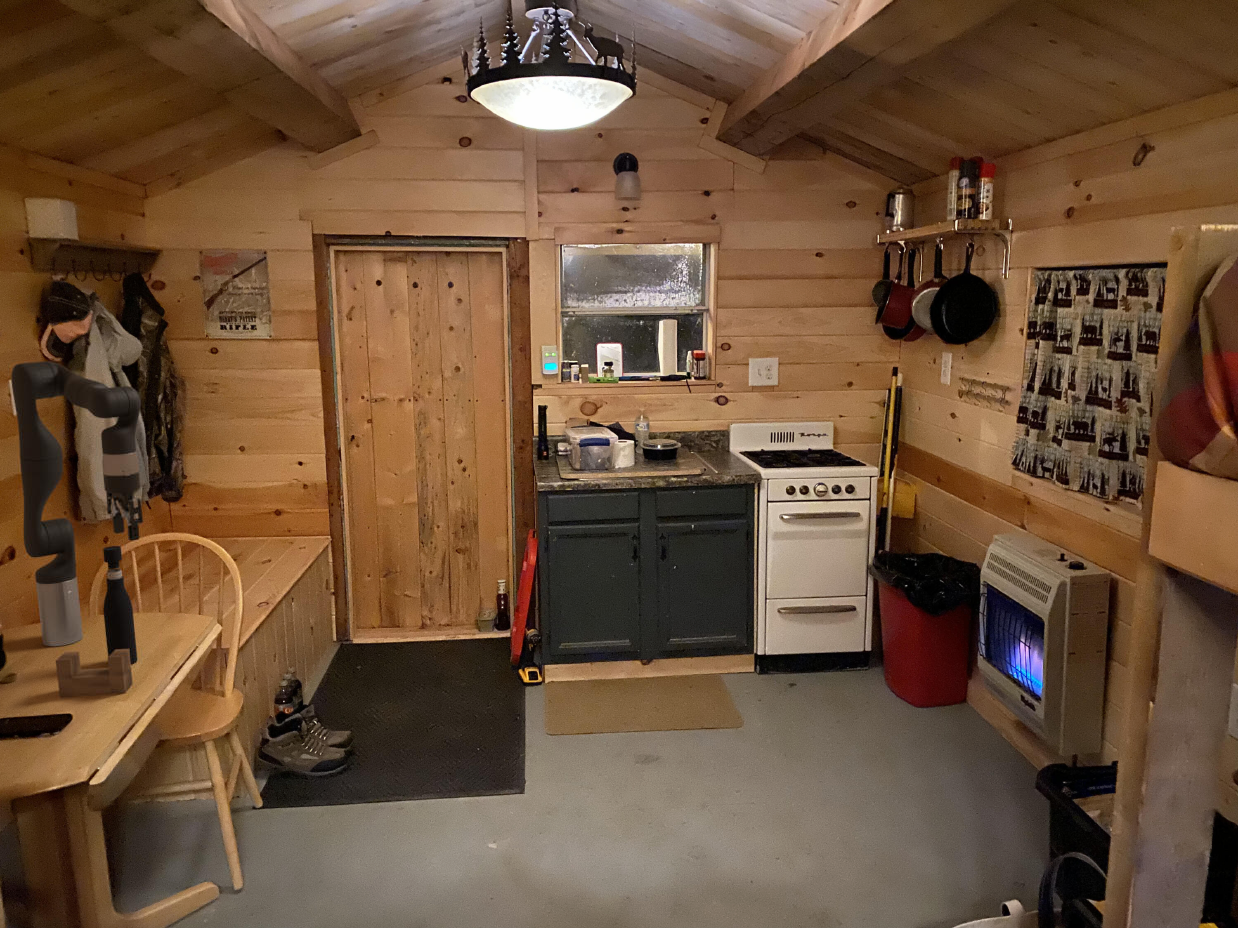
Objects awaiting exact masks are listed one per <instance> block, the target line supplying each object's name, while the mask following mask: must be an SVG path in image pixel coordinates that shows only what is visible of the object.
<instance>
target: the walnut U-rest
mask: <svg viewBox="0 0 1238 928" xmlns="http://www.w3.org/2000/svg"><path fill="white" fill-rule="evenodd" d="M55 666H56V675H57V684H58V693H59V698H72V697H73V698H74V697H85V696H102V695H103V696H105V695H119V694H126V692H128V691H129V689H131V687H132V686H133V684H134V683H133V674H132V673H133V672H132V665H131V662H130V652H129V649H116V650H115V651H114V652H113V653H112V654H111V655H110V656H109V657H108V656H107V667H104V668H103V667H102V668H100V667H99V668H84V669H83V668H82V669H81V660H80V651H65V652H64V653H63V654H61V655H60V656H59V657H58V658H57V659H55Z"/></svg>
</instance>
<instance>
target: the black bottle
mask: <svg viewBox="0 0 1238 928" xmlns="http://www.w3.org/2000/svg"><path fill="white" fill-rule="evenodd" d="M102 552H103V561H104V563H106V564H107V573H106V576H107V578H106V587H107V588H106V589H107V590H106V593H105V597H104V599H103V610H102V611H103V621H104V629H105V630H104V632H105V641H106V649H107V650H106V651H107V658H108V657H109V656H110V655H111V654H112V653H113V652H114V651H115V650H116V649H129V652H130V662H131V666H132V665H134V664H135V663H137V662H138V653H137V641H136V632H135V630H136V629H135V621H134V619H135V618H134V609H133V604H132V601H131V598H130V595H129V593H128V592H127V590H126V586H125V579H124V576H123V574H122V573H123V571H122V569H121V566H120V562H121V561H122V560H123V556H122V547H121V546H119V545H112V546H106V547H104V548H103V549H102Z"/></svg>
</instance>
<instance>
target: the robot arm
mask: <svg viewBox="0 0 1238 928" xmlns="http://www.w3.org/2000/svg"><path fill="white" fill-rule="evenodd" d="M11 388H12V395H13V400H14V406H15V411H16V418H17V419H16V420H17V426H18V439H19V440H18V441H19V462H20V463H19V464H20V473H21V482H22V491H23V492H22V494H23V544H24V548H25V552H26V553H27V555H28V556H29V557H30V558H43V557H49V556H53V555H54V556H55V555H56V556H55V557H54V558H53V559H52V560H51V561H50V562H48V563H47V564H45V565H42V566H41V567H39V568H38V569H36V571H35V574H34V577H35V587H36V594H37V603H38V611H39V620H40V627H41V638H42V644H43V646H47V647H59V646H60V647H61V646H66V645H71V644H74V643H77V642H80V640H82V639H83V638H84V635H83V634H84V633H83V623H82V616H81V615H82V614H81V606H80V596H79V586H78V579H77V564H76V563H77V561H76V540H75V532H74V531H75V530H74V527H73V524H72V522H71V521H70V520H69V519H68V518H66V517H61V518H59V517H58V518H54V519H53V518H52V519H47V520H42V519H43V518H42V517H43V513H44V509H45V506H46V503H47V502H48V501H49V500H48V499H49V498H50V497H51V495H52V494H53V492H54V491H55V489H56V487H57V486H58V484H59V483H60V481H61V479H62V478H63V474H64V458H63V456H64V455H63V454H64V453H63V449H62V446H61V444H60V443H59V441H58V440H57V438H56V437H55V436H54V434H52V432H51V431H50V430H49V429H48V427H46V425H45V423H43V421H42V420H41V418H40V415H39V412H38V408H37V400H44V399H45V400H46V399H52V398H56V397H61V396H63V397H65V398H66V399H67V400H68V401H69V403H71V404H72V405H74V406H77V407H80V408H82V409H85V410H87V411H88V412H89V413H91V415H92V416H94V417H95V418H100V419H112V418H113V419H114V418H117V421H116V423H115V424H114V425H111V426H109V427H106V428H104V429H103V430H102V431H101V433H100V437H101V439H100V440H101V450H102V458H101V459H102V460H101V461H102V463H101V464H102V476H103V485H104V486H103V488H104V492H105V493H106V496H105V497H106V511H107V514H108V515H110V517H111V519H112V527H113V529H112V530H113V533H115V534H117V535H118V534H122V533H124V532H125V522H126V525H127V537H128V539H127V540H129V541H132V542H133V541H138V540H139V539H140V530H139V527H140V526H139V525H140V524H143V523H144V518H143V509H142V500H141V498H140V497H139V498H135V494H134V492H135V491H139V490H140V488H141V479H140V468H139V467H140V466H139V459H138V455H137V454H138V453H137V443H136V430H137V426H138V421H139V416H140V414H141V413H140V412H141V407H142V401H141V396H140V395H139V393H138V391H137V390H136V389H135V388H133V387H132V386H127V385H125V386H115V387H114V386H112V387H108V386H107V385H106V384H104V383H102V382H100V381H97V380H92V379H91V378H90V379H89V378H86V377H83V376H80V375H78V374H77V373H75V372H74V371H71V370H70V369H69V368H68V367H65V366H63V365H62V364H60V363H57V362H55V361H47V360H45V361H35V362H33V361H32V362H23V363H18V364H16V365H14V366H13V368H12V370H11ZM124 519H125V521H124Z"/></svg>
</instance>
